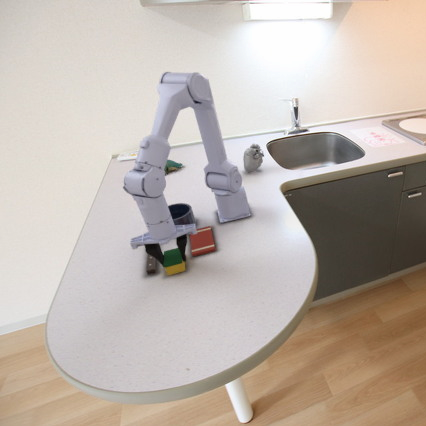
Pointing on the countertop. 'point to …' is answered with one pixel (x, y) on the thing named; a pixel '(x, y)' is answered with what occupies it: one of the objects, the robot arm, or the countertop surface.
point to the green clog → (171, 165)
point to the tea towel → (202, 241)
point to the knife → (151, 265)
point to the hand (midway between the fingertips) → (174, 261)
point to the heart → (253, 158)
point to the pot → (182, 214)
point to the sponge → (173, 261)
